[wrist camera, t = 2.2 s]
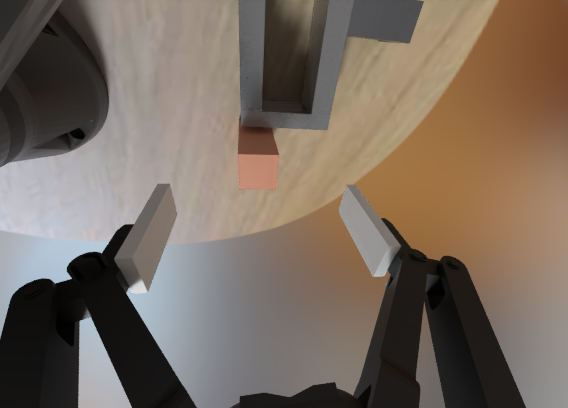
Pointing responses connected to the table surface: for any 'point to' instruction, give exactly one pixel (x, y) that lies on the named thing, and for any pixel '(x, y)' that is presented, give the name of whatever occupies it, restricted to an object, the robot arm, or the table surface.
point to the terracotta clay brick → (257, 158)
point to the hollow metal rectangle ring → (315, 55)
